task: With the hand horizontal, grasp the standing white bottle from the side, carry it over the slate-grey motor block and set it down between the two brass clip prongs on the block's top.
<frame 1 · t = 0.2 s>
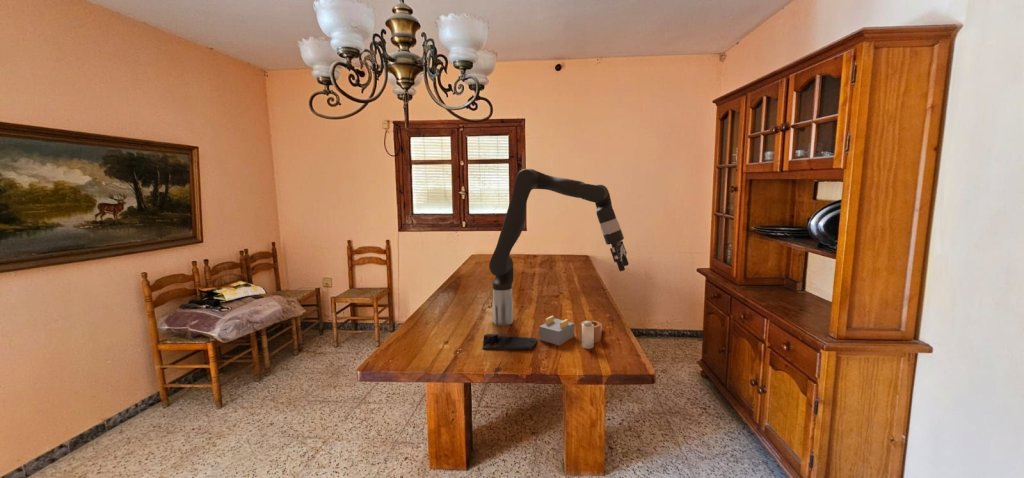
hand: (624, 268, 164), 31 cm above the table, tool tilted 20°, fingers open, 8 cm apart
white bottle: (587, 346, 162), on the table
bracket: (591, 335, 174), on the table
dark slate chunk: (510, 345, 166), on the table
motor block: (557, 337, 171), on the table
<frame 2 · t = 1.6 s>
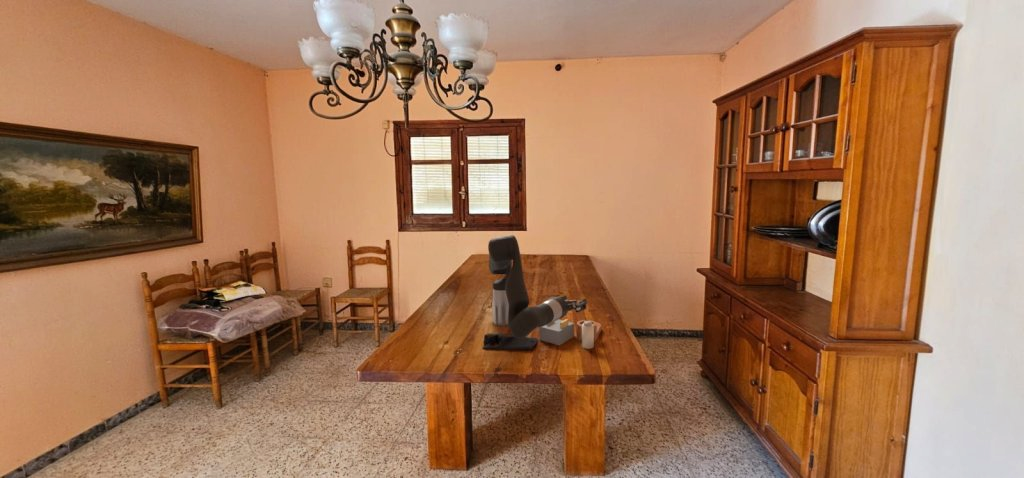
hand: (575, 299, 151), 22 cm above the table, tool horizontal, fingers open, 8 cm apart
bracket: (589, 335, 174), on the table
everything else where it was.
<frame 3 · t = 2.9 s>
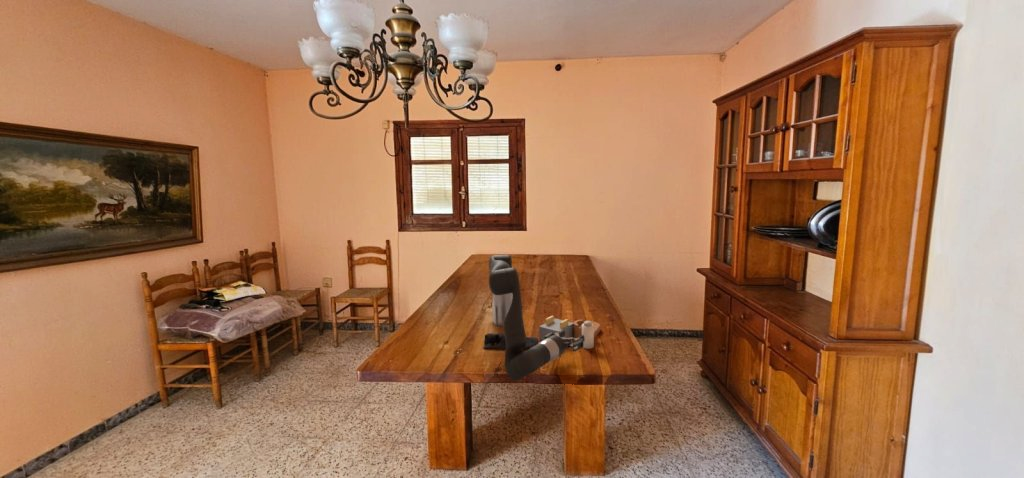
hand: (573, 335, 152), 9 cm above the table, tool horizontal, fingers open, 8 cm apart
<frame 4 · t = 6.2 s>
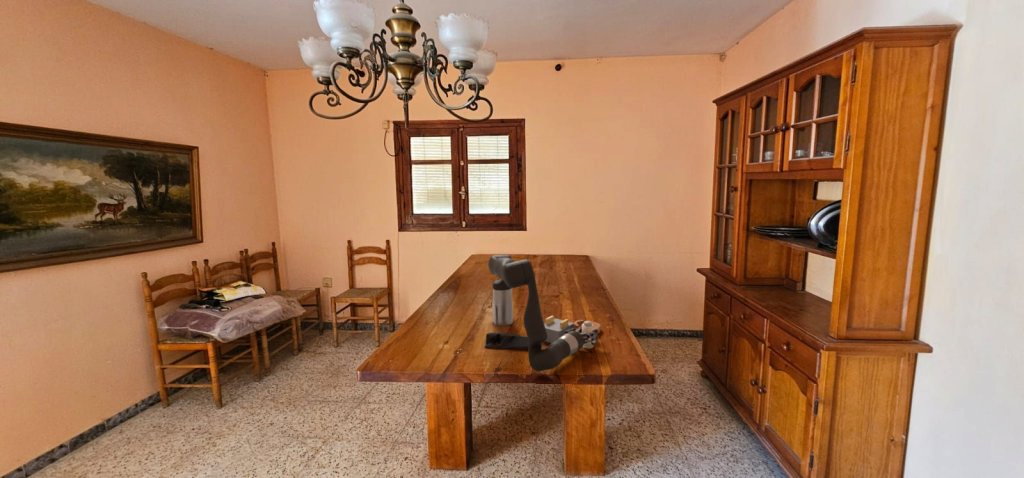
hand: (590, 329, 163), 6 cm above the table, tool horizontal, fingers closed on white bottle, 4 cm apart
white bottle: (587, 346, 162), on the table, touching gripper
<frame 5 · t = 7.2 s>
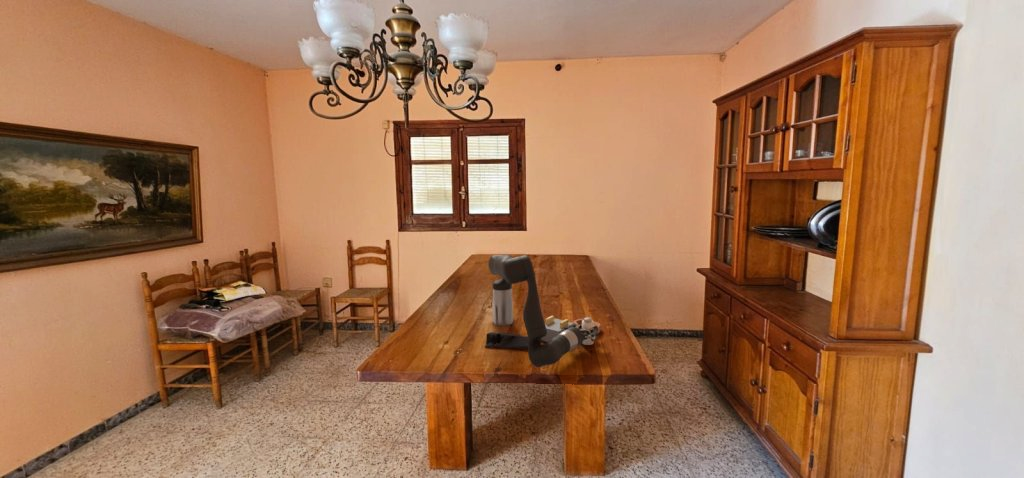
hand: (590, 326, 163), 8 cm above the table, tool horizontal, fingers closed on white bottle, 4 cm apart
white bottle: (587, 342, 162), point 1 cm above the table, touching gripper
bracket: (587, 334, 174), on the table, touching gripper
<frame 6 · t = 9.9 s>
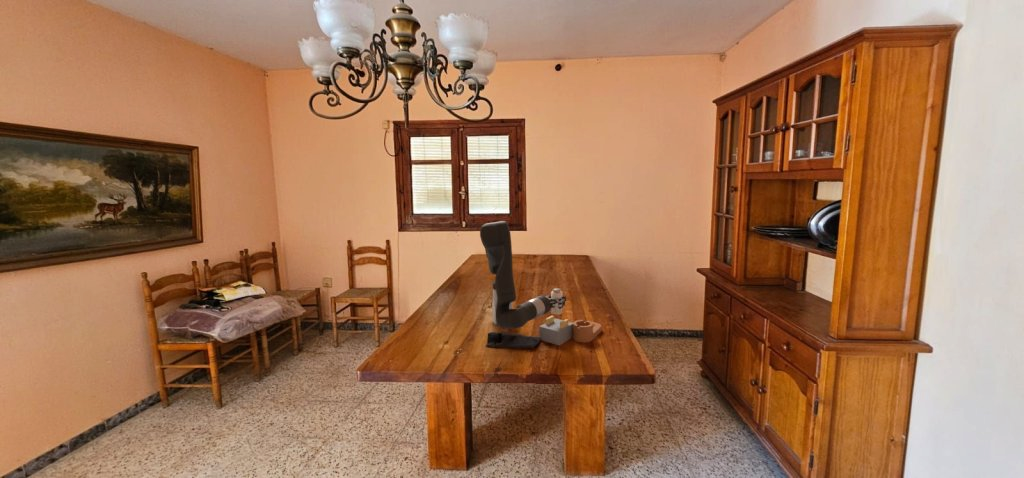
hand: (560, 297, 170), 18 cm above the table, tool horizontal, fingers closed on white bottle, 4 cm apart
white bottle: (556, 312, 169), point 11 cm above the table, touching gripper
bracket: (587, 335, 174), on the table
when the fingers open (13 cm above the table, at t = 11.2 s): white bottle drops 1 cm, resting on motor block.
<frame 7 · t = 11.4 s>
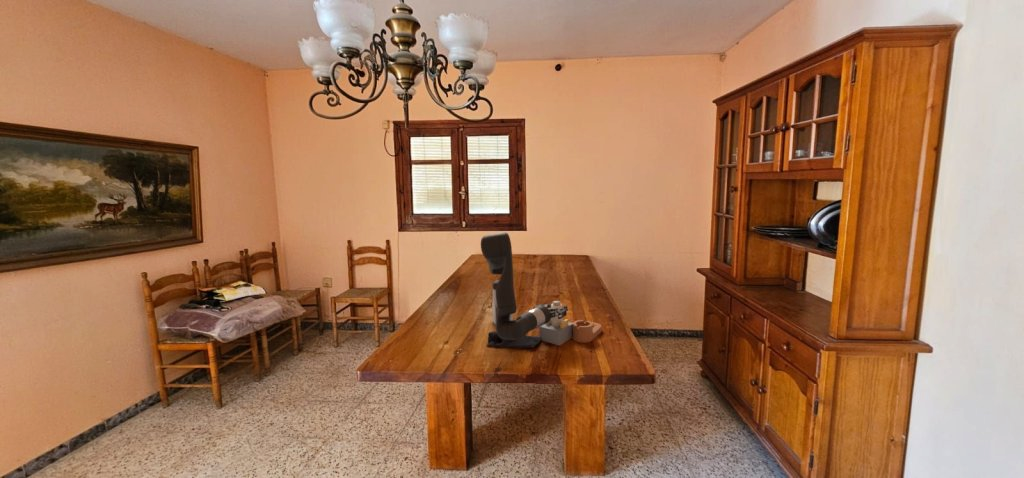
hand: (559, 306, 171), 13 cm above the table, tool horizontal, fingers open, 6 cm apart
white bottle: (557, 324, 170), point 6 cm above the table, touching motor block
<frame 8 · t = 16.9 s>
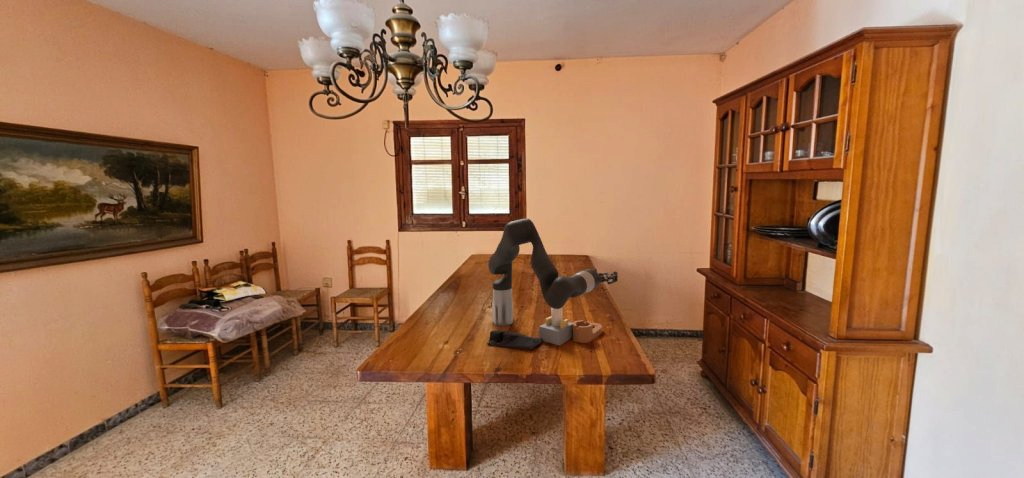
hand: (605, 272, 152), 32 cm above the table, tool horizontal, fingers open, 8 cm apart
at the end: white bottle 0.2 cm off-centre on the motor block, point 6.1 cm above the motor block's base; white bottle tilted 1°; the gripper is holding nothing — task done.
